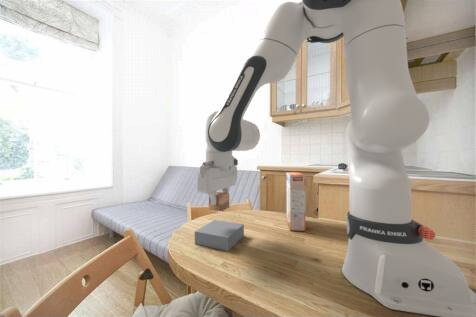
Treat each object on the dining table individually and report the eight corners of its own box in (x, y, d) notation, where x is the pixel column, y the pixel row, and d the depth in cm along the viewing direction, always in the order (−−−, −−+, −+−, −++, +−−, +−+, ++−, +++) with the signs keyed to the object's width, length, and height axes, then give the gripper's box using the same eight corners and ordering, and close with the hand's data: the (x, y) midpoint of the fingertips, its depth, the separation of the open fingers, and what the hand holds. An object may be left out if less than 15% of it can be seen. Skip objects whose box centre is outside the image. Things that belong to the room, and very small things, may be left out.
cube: (229, 207, 66) (229, 192, 66) (222, 211, 61) (222, 195, 61) (216, 205, 68) (216, 191, 68) (208, 209, 64) (208, 194, 63)
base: (243, 235, 68) (243, 224, 68) (227, 251, 57) (227, 237, 57) (214, 230, 73) (214, 220, 73) (194, 243, 62) (194, 231, 62)
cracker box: (306, 232, 70) (306, 174, 70) (289, 231, 71) (289, 174, 71) (300, 219, 84) (299, 171, 84) (286, 219, 85) (285, 171, 85)
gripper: (209, 162, 54) (210, 211, 54) (240, 160, 72) (240, 197, 72) (191, 162, 56) (192, 208, 57) (225, 160, 75) (225, 195, 75)
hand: (219, 202), depth 65 cm, fingers closed on cube, 5 cm apart
